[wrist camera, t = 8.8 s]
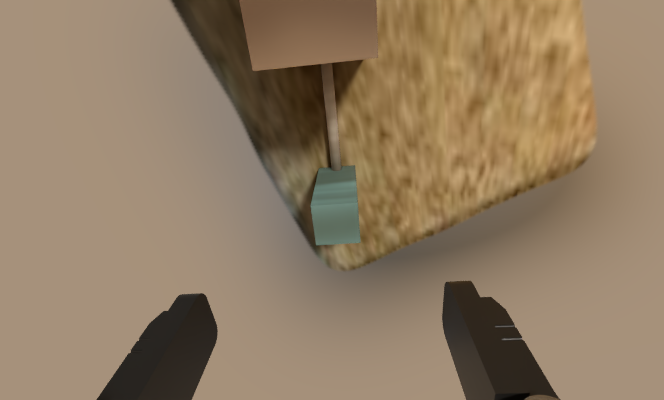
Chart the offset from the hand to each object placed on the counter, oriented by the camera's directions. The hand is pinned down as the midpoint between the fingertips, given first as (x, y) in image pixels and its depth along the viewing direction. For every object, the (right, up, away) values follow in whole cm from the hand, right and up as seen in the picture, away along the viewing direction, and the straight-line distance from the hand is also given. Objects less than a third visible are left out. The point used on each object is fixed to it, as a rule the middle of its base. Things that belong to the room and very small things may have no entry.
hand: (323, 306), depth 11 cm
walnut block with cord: (0, +10, +10) cm, 14 cm away
